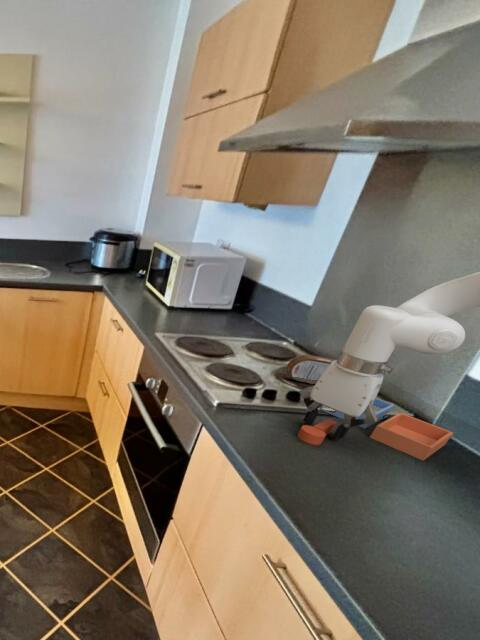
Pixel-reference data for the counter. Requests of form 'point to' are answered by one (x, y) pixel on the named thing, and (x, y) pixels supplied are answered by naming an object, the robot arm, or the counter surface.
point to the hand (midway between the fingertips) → (321, 431)
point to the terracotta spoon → (316, 432)
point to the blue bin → (379, 414)
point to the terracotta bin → (411, 435)
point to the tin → (308, 366)
